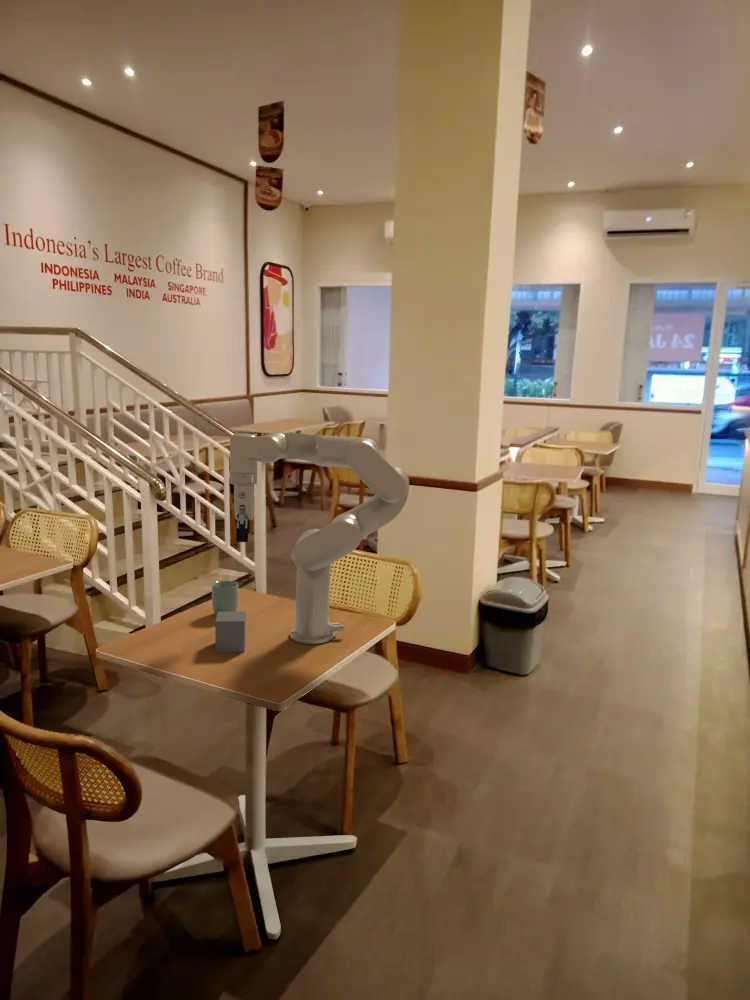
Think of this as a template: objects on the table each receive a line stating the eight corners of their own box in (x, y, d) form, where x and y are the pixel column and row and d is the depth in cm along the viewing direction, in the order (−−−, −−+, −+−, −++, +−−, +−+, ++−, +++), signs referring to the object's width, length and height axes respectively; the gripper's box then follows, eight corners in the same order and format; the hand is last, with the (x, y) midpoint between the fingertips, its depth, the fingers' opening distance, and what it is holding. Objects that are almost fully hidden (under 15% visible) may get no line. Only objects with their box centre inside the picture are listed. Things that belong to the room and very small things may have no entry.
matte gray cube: (245, 641, 201) (246, 611, 199) (244, 652, 193) (244, 621, 191) (218, 641, 200) (218, 611, 198) (215, 652, 192) (215, 621, 190)
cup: (207, 617, 218) (207, 586, 216) (220, 609, 225) (220, 579, 223) (230, 621, 215) (230, 589, 213) (242, 612, 223) (242, 582, 221)
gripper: (256, 483, 191) (255, 545, 194) (258, 473, 208) (257, 530, 211) (227, 483, 190) (227, 545, 193) (231, 473, 207) (231, 530, 210)
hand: (243, 537), depth 202 cm, fingers open, 9 cm apart
